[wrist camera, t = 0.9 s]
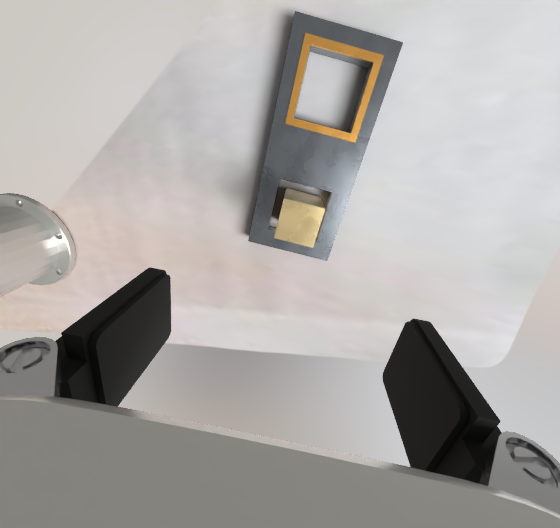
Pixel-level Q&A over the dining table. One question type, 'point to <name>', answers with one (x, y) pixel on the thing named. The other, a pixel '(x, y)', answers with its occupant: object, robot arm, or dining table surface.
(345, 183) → the socket plate
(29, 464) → the robot arm
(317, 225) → the brass plug
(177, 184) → the dining table surface
